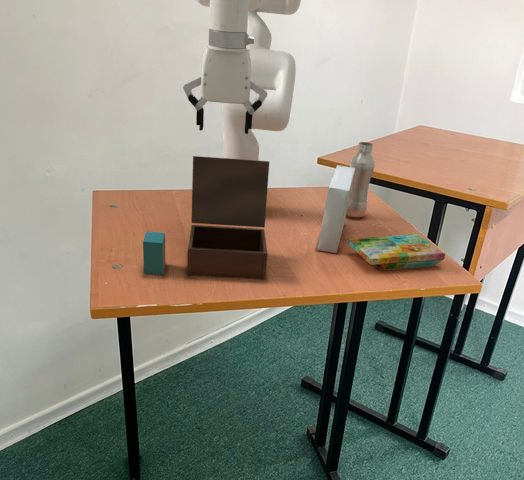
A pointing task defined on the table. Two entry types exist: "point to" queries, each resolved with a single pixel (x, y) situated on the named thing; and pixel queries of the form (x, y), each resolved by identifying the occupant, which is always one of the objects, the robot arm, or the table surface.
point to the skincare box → (336, 209)
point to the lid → (229, 191)
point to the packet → (154, 253)
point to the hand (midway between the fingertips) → (223, 130)
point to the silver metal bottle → (360, 179)
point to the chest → (227, 252)
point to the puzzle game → (397, 251)
